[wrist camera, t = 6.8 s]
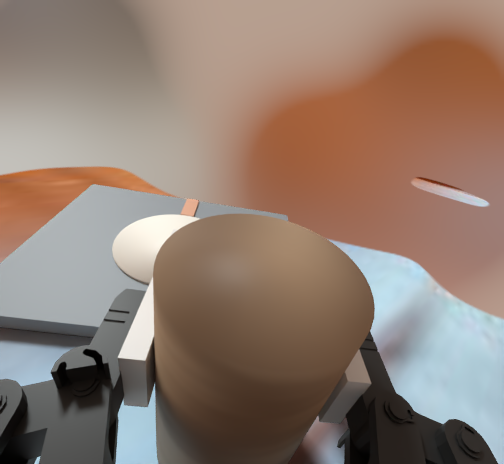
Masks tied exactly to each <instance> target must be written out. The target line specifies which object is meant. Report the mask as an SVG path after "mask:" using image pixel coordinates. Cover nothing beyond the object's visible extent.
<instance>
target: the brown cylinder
mask: <svg viewBox="0 0 504 464" xmlns="http://www.w3.org/2000/svg"><path fill="white" fill-rule="evenodd" d="M153 300H154V349H155V397H156V446H157V458H158V463H159V464H288V462H289V461H290V459H291V457H292V456H293V454H294V453H295V451H296V449H297V448H298V446H299V445H300V443H301V441H302V440H303V438H304V437H305V435H306V433H307V432H308V430H309V429H310V427H311V425H312V424H313V422H314V421H315V419H316V417H317V416H318V414H319V412H320V411H321V409H322V408H323V406H324V404H325V403H326V401H327V400H328V398H329V396H330V395H331V393H332V392H333V390H334V388H335V387H336V385H337V384H338V382H339V380H340V379H341V377H342V376H343V374H344V372H345V371H346V369H347V367H348V366H349V364H350V363H351V361H352V359H353V358H354V356H355V355H356V353H357V351H358V350H359V348H360V347H361V345H362V343H363V342H364V340H365V339H366V337H367V335H368V333H369V331H370V329H371V327H372V323H373V320H374V309H375V308H374V299H373V295H372V292H371V289H370V286H369V284H368V282H367V280H366V278H365V277H364V275H363V273H362V272H361V270H360V269H359V268H358V266H357V265H356V264H355V263H354V262H353V261H352V260H351V259H350V258H349V256H348V255H347V254H345V253H344V252H343V251H342V250H341V249H340V248H338V247H337V246H336V245H334V244H333V243H332V242H330V241H329V240H327V239H325V238H324V237H322V236H321V235H319V234H316V233H315V232H313V231H311V230H309V229H307V228H304V227H302V226H300V225H297V224H294V223H292V222H288V221H285V220H282V219H278V218H273V217H269V216H263V215H255V214H223V215H216V216H210V217H206V218H203V219H199V220H197V221H194V222H192V223H189V224H187V225H185V226H184V227H182V228H180V229H179V230H177V231H176V232H174V233H173V234H172V235H171V236H170V237H169V238H168V239H167V240H166V241H165V242H164V244H163V245H162V246H161V248H160V250H159V252H158V254H157V256H156V259H155V262H154V269H153Z"/></svg>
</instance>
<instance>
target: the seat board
mask: <svg viewBox="0 0 504 464" xmlns="http://www.w3.org/2000/svg"><path fill="white" fill-rule="evenodd" d="M223 214H255V215H263V216H269V217H273V218H278V219H282V220H285V221H288V218H287V215H281V214H276V213H269V212H263V211H257V210H251V209H245V208H238V207H232V206H226V205H219V204H213V203H207V202H200V201H199V200H193V199H182V198H176V197H170V196H164V195H157V194H151V193H145V192H139V191H132V190H126V189H120V188H114V187H108V186H101V185H95V184H92V185H91V186H90V187H89V188H88V189H87V190H85V191H84V192H83V193H82V194H81V195H80V196H78V197H77V198H76V199H75V200H74V201H72V202H71V203H70V204H69V205H68V206H67V207H65V208H64V209H63V210H62V211H61V212H60V213H58V214H57V215H56V216H55V217H54V218H53V219H51V220H50V221H49V222H48V223H47V224H46V225H44V226H43V227H42V228H41V229H40V230H38V231H37V232H36V233H35V234H34V235H33V236H31V237H30V238H29V239H28V240H27V241H26V242H24V243H23V244H22V245H21V246H20V247H19V248H17V249H16V250H15V251H14V252H13V253H12V254H10V255H9V256H8V257H7V258H6V259H4V260H3V261H2V262H1V263H0V327H3V328H12V329H21V330H31V331H40V332H49V333H58V334H68V335H77V336H86V337H94V336H95V334H96V332H97V330H98V328H99V327H100V325H101V323H102V321H103V320H104V317H105V316H106V314H107V312H108V311H109V308H110V306H111V305H112V303H113V301H114V299H115V298H116V297H117V296H118V295H119V294H120V293H121V292H123V291H124V290H125V289H134V290H142V291H147V289H148V286H149V284H150V282H151V279H152V277H153V269H154V262H155V259H156V256H157V254H158V252H159V250H160V248H161V246H162V245H163V244H164V242H165V241H166V240H167V239H168V238H169V237H170V236H171V233H172V231H173V229H175V230H179V229H180V228H182V227H184V226H185V225H187V224H189V223H192V222H194V221H197V220H199V219H203V218H206V217H210V216H216V215H223Z"/></svg>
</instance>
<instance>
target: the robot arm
mask: <svg viewBox="0 0 504 464" xmlns="http://www.w3.org/2000/svg"><path fill="white" fill-rule="evenodd" d="M176 231H177V230H175V229H173V231H172V233H171V235H172V234H173V233H174V232H176ZM377 350H378V349H377V347H376V345H375V342H373V337H372V335H371V333H370V331H369V333H368V335H367V337H366V339H365V340H364V342H363V343H362V345H361V347H360V348H359V350H358V351H357V353H356V355H355V356H354V358H353V359H352V361H351V363H350V364H349V366H348V367H347V369H346V371H345V372H344V374H343V376H342V377H341V379H340V380H339V382H338V384H337V385H336V387H335V388H334V390H333V392H332V393H331V395H330V396H329V398H328V400H327V401H326V403H325V404H324V406H323V408H322V409H321V411H320V412H319V414H318V416H319V421H320V422H327V423H338V424H340V423H341V422H342V420H343V419H344V418H345V417H346V418H347V422H348V426H349V429H348V430H347V431H346V432H345V433H344V435H343V436H342V437H341V438H340V439H339V441H338V445H337V447H338V448H341V447H342V446H343V445H344V444H345V461H344V464H498V463H497V461H496V459H495V457H494V455H493V453H492V452H491V450H490V448H489V446H488V445H487V443H486V442H485V441H484V439H483V438H482V436H481V435H480V434H479V433H478V432H477V431H476V430H475V429H474V428H472V427H471V426H469V425H468V424H466V423H465V422H463V421H460V420H457V419H451V420H448V421H447V422H446V423H444V424H441V423H438V422H436V421H434V420H432V419H429V418H427V417H425V416H422V415H420V414H418V413H416V412H415V411H414V410H413V409H412V407H411V406H410V404H409V403H408V402H407V401H406V400H405V399H404V398H403V397H402V396H400V395H398V394H396V392H395V390H394V388H393V385H392V383H391V381H390V378H389V376H388V373H387V371H386V369H385V366H384V364H383V361H382V359H381V357H380V354H379V352H377ZM51 374H52V377H53V380H50V381H46V382H41V383H36V384H31V385H26V386H22V387H21V386H20V385H19V384H18V383H17V382H16V381H14V380H9V379H2V380H0V464H34V463H35V461H36V459H37V457H39V456H41V457H40V461H39V464H115V462H116V447H117V433H118V411H119V409H120V406H121V403H122V401H123V400H124V405H128V406H140V407H148V404H149V401H150V397H151V394H152V391H153V387H154V384H155V349H154V300H153V277H152V279H151V282H150V284H149V286H148V289H147V291H142V290H134V289H125V290H124V291H123V292H121V293H120V294H119V295H118V296H117V297H116V298H115V299H114V301H113V303H112V305H111V306H110V308H109V311H108V312H107V314H106V316H105V317H104V320H103V321H102V323H101V325H100V327H99V328H98V330H97V332H96V334H95V336H94V338H93V339H92V341H91V343H90V345H83V346H80V347H76V348H73V349H72V350H70V351H68V352H67V353H65V354H63V355H62V356H61V357H60V358H59V359H58V360H57V361H56V362H55V364H54V366H53V368H52V370H51Z"/></svg>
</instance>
